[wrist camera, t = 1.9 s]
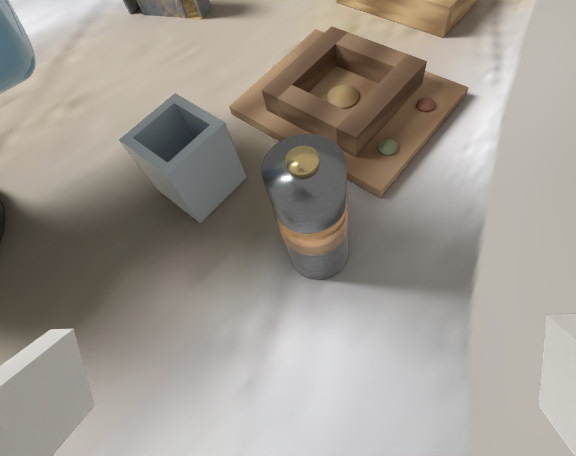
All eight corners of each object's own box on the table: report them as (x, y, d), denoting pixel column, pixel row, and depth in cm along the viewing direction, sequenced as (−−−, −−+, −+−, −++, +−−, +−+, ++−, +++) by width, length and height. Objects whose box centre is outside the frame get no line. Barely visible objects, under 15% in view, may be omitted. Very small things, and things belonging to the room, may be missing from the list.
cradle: (231, 113, 39) (221, 86, 36) (316, 37, 43) (313, 7, 40) (380, 197, 32) (383, 172, 28) (465, 95, 36) (476, 63, 33)
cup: (158, 191, 35) (118, 140, 29) (203, 149, 37) (175, 93, 31) (200, 223, 33) (166, 175, 27) (246, 177, 35) (224, 122, 29)
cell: (277, 257, 30) (240, 168, 20) (314, 216, 32) (296, 113, 22) (323, 292, 28) (308, 211, 18) (360, 246, 30) (365, 148, 20)
